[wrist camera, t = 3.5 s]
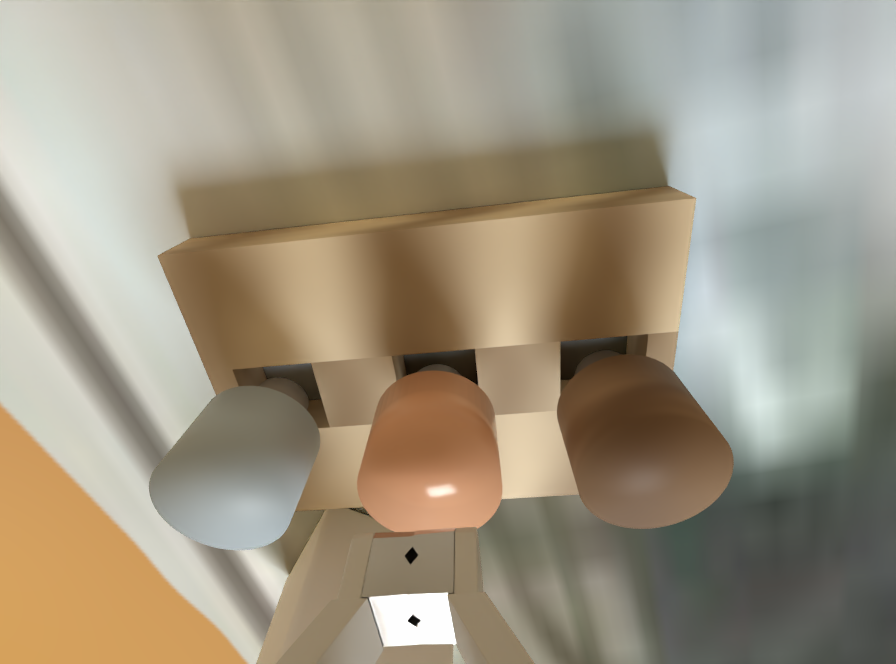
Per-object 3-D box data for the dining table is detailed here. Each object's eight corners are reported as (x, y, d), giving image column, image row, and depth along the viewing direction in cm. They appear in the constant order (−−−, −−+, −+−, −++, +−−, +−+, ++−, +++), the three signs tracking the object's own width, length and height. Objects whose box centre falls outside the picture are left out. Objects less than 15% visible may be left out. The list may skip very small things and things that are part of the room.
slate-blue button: (320, 349, 16) (268, 445, 12) (344, 436, 18) (306, 546, 14) (214, 359, 17) (124, 455, 12) (248, 443, 18) (181, 553, 14)
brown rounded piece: (664, 319, 15) (747, 410, 11) (653, 414, 17) (720, 524, 13) (545, 330, 16) (578, 422, 11) (547, 421, 18) (576, 532, 13)
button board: (669, 186, 15) (696, 198, 14) (640, 455, 21) (657, 489, 19) (189, 238, 17) (157, 256, 15) (282, 479, 22) (266, 512, 20)
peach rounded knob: (487, 335, 16) (497, 428, 11) (495, 425, 18) (506, 535, 13) (375, 345, 16) (342, 439, 12) (394, 432, 18) (372, 543, 14)
